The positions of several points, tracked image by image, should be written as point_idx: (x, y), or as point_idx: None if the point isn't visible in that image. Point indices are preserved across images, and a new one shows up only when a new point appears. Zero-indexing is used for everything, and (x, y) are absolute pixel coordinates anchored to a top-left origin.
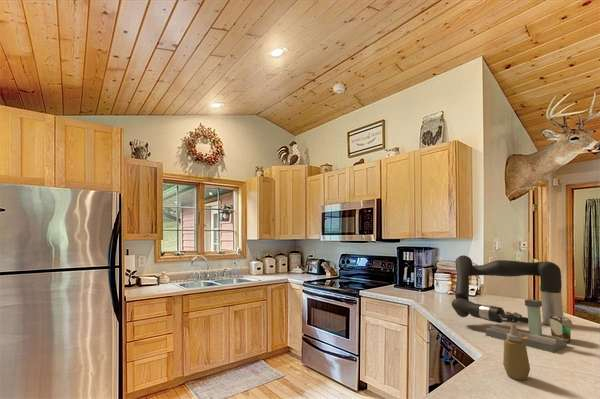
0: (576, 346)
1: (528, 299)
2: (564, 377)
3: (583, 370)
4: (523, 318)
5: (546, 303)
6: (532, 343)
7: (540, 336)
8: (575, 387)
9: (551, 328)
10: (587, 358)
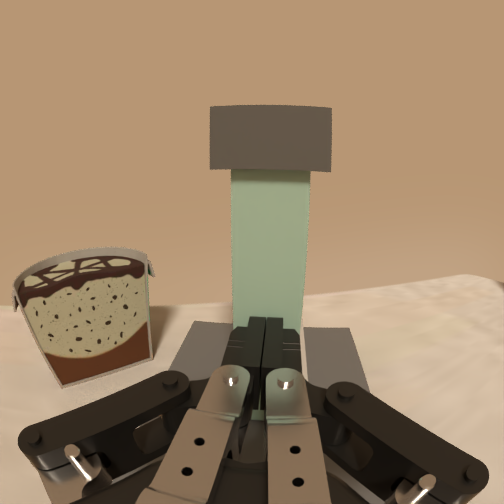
0: (177, 330)
1: (246, 106)
2: (471, 296)
3: (402, 293)
4: (283, 351)
5: None
6: None
7: (302, 359)
8: (480, 283)
9: (49, 352)
10: None
